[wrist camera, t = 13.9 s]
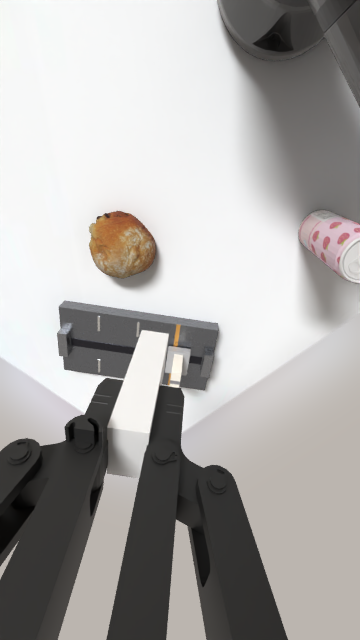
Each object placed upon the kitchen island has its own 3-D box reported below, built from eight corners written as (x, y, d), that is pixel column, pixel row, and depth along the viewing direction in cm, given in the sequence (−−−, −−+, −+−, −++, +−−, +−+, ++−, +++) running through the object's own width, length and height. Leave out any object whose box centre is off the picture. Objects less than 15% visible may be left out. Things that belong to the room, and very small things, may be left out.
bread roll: (115, 266, 52) (115, 298, 47) (74, 223, 44) (69, 257, 39) (162, 241, 49) (168, 273, 44) (128, 191, 42) (129, 223, 37)
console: (69, 361, 59) (61, 374, 55) (64, 300, 52) (54, 310, 48) (204, 381, 59) (204, 395, 55) (217, 323, 52) (218, 335, 49)
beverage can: (290, 240, 44) (327, 274, 31) (311, 203, 41) (361, 223, 28) (322, 253, 45) (372, 292, 32) (345, 218, 42) (410, 244, 29)
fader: (165, 367, 54) (161, 392, 48) (168, 345, 52) (164, 369, 46) (186, 370, 54) (184, 395, 49) (190, 349, 52) (189, 372, 46)
